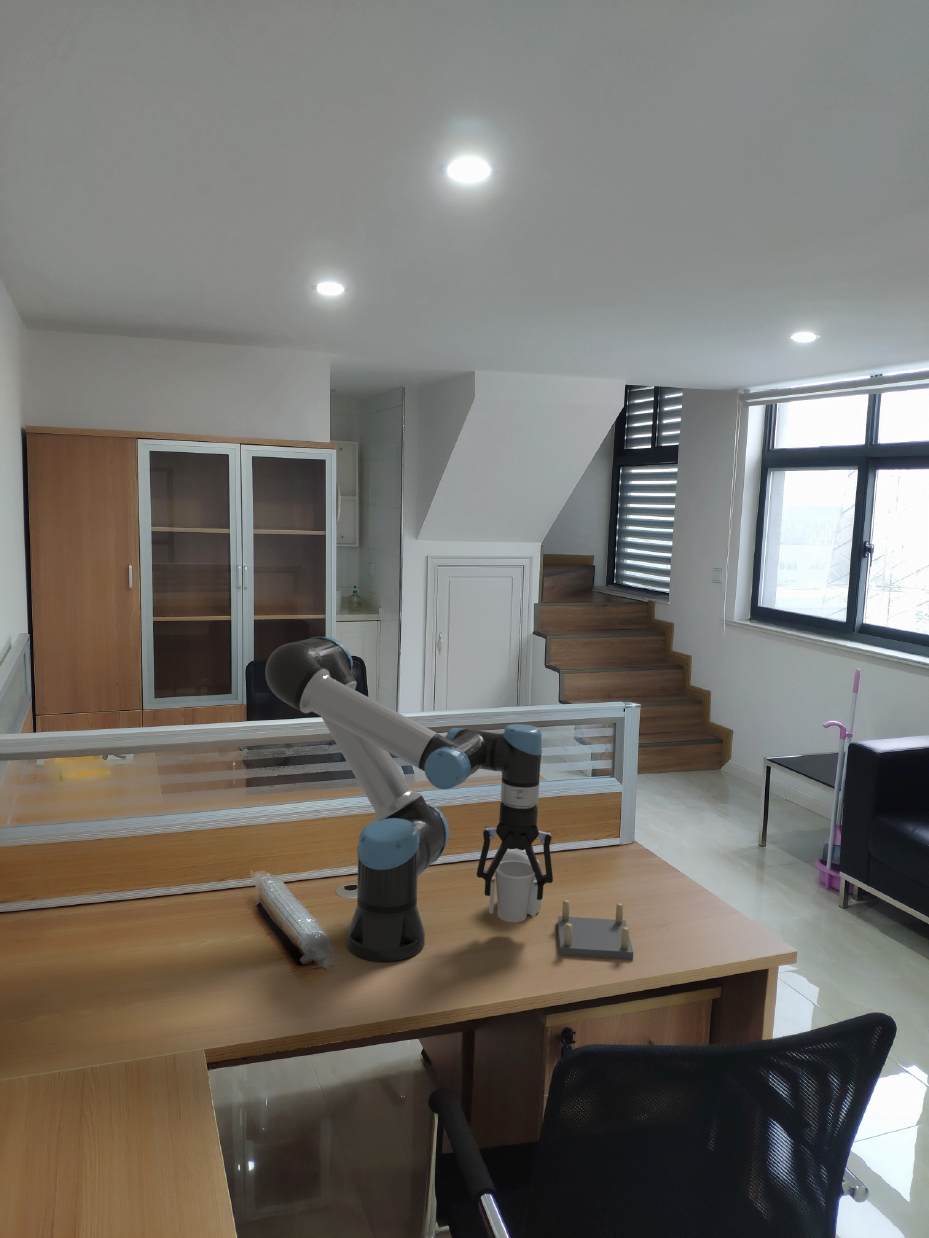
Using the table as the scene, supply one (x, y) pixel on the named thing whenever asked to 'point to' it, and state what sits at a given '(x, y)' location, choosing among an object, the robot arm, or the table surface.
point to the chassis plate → (594, 935)
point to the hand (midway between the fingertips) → (512, 912)
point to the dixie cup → (513, 890)
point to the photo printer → (522, 857)
